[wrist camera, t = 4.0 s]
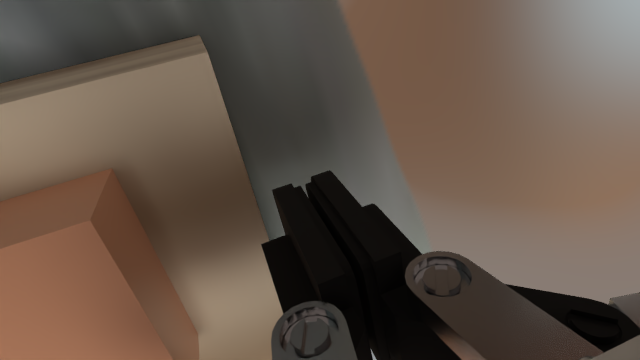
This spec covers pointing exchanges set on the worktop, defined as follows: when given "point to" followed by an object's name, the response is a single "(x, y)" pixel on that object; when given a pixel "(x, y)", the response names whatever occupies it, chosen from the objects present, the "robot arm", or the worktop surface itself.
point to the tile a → (85, 279)
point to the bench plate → (156, 176)
